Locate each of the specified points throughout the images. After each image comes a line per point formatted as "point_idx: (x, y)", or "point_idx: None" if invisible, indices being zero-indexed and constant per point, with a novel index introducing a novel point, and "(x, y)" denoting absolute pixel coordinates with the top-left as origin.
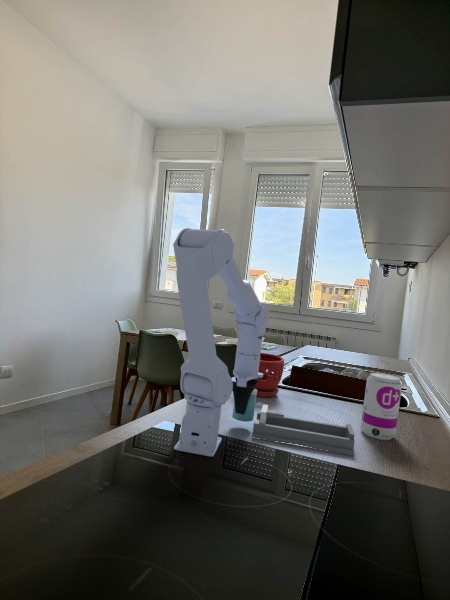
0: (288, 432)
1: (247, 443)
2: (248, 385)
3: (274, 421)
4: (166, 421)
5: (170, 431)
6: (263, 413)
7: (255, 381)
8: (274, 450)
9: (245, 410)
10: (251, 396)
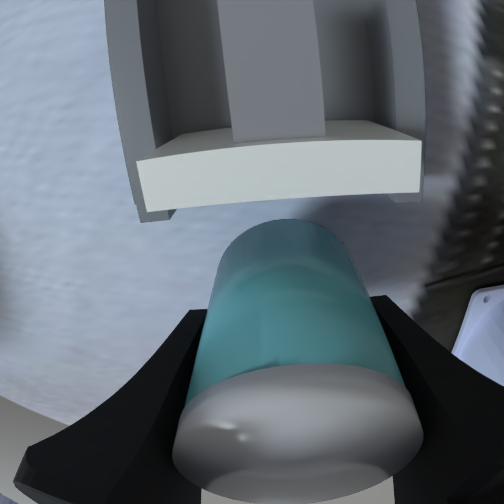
0: None
1: (474, 188)
2: (484, 492)
3: (159, 81)
4: None
5: None
6: (413, 163)
7: (126, 499)
8: (496, 64)
9: (399, 308)
10: (397, 376)
